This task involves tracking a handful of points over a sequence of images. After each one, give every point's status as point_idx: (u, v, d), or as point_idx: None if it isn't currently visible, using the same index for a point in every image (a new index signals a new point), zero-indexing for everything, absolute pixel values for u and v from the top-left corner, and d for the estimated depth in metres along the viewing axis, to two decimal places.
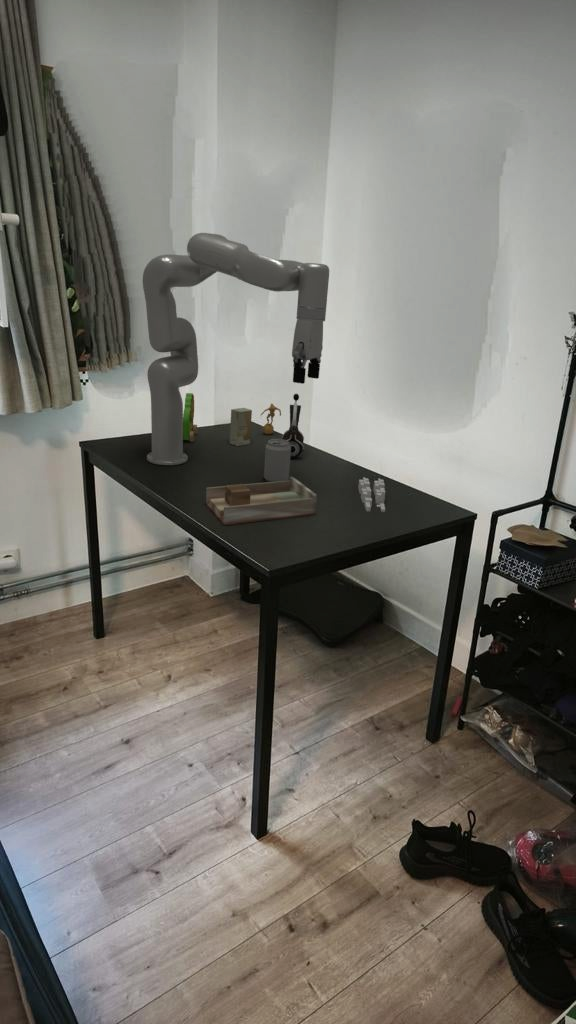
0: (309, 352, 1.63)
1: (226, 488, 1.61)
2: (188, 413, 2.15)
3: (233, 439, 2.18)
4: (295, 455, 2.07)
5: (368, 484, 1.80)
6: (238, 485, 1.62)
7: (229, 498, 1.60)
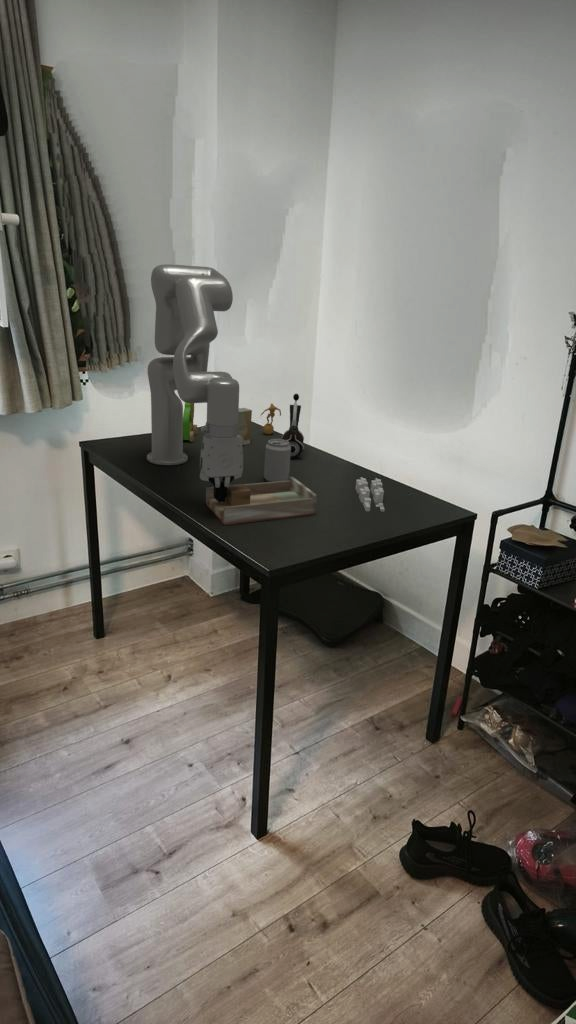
0: None
1: None
2: (188, 413, 2.15)
3: None
4: (295, 455, 2.07)
5: (366, 484, 1.80)
6: (238, 485, 1.62)
7: (229, 498, 1.60)
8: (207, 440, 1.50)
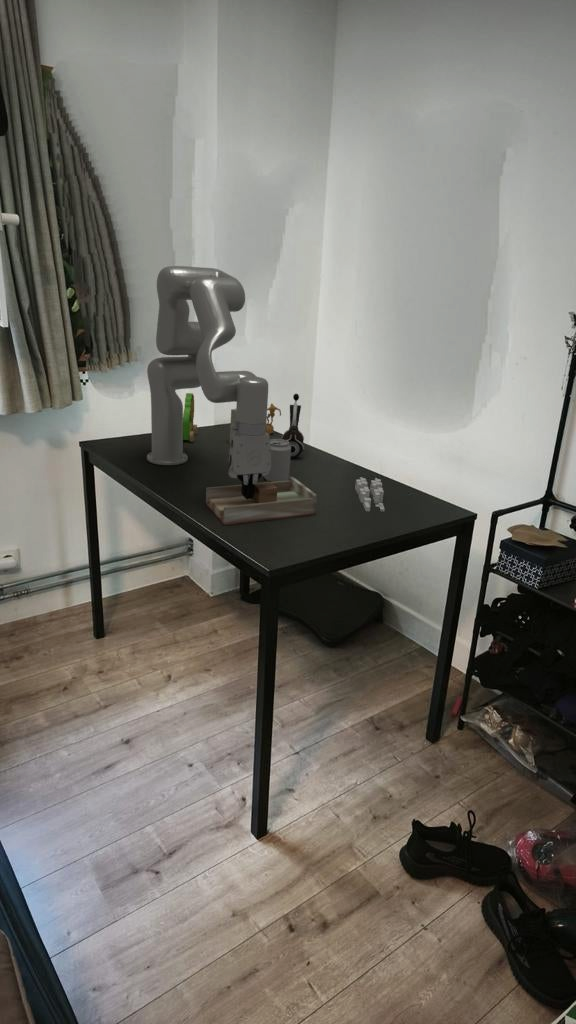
0: None
1: None
2: (188, 413, 2.15)
3: None
4: (295, 455, 2.07)
5: (366, 484, 1.80)
6: (264, 483, 1.65)
7: (256, 495, 1.63)
8: (237, 438, 1.53)
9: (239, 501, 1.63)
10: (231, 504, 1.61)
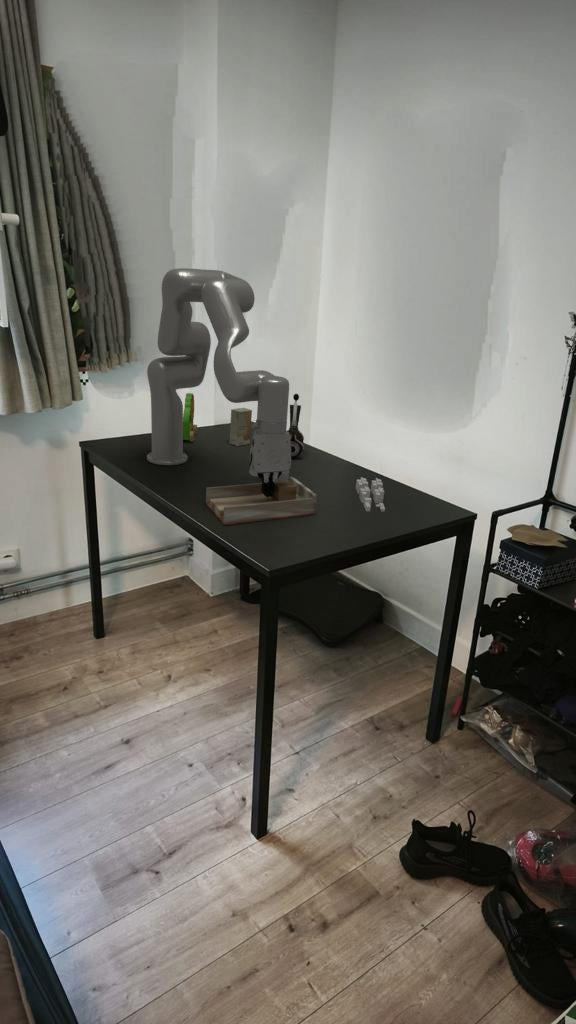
0: None
1: None
2: (188, 413, 2.15)
3: (233, 439, 2.18)
4: (295, 455, 2.07)
5: (366, 484, 1.80)
6: (284, 481, 1.68)
7: (276, 493, 1.65)
8: (258, 436, 1.56)
9: (239, 501, 1.63)
10: (231, 504, 1.61)
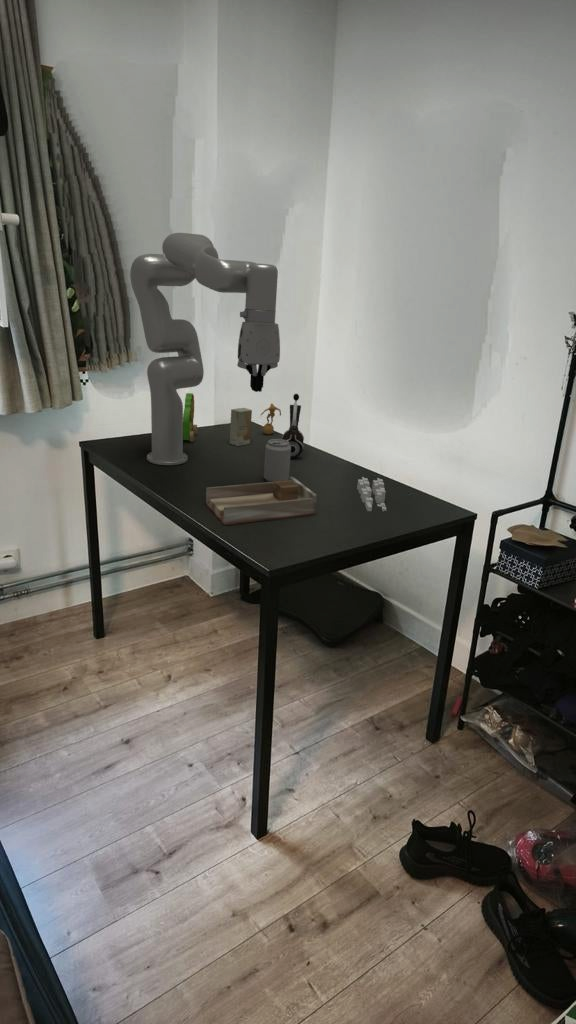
0: None
1: (275, 484, 1.66)
2: (188, 413, 2.15)
3: (233, 439, 2.18)
4: (295, 455, 2.07)
5: (368, 484, 1.80)
6: (286, 481, 1.68)
7: (278, 493, 1.65)
8: (246, 325, 1.54)
9: (239, 501, 1.63)
10: (231, 504, 1.61)
